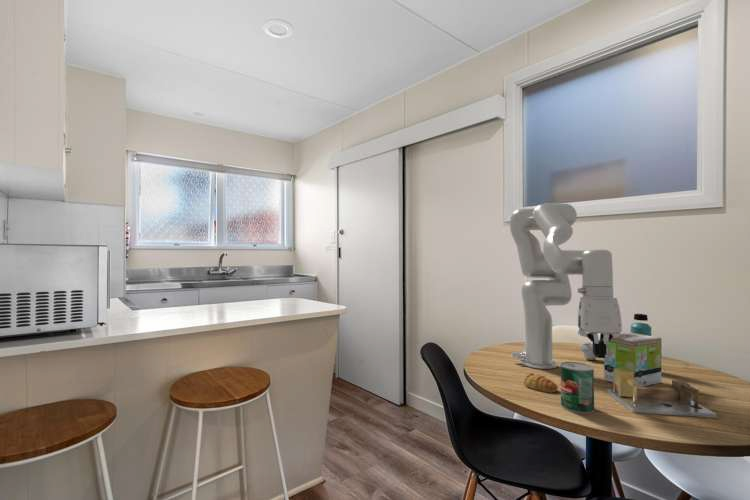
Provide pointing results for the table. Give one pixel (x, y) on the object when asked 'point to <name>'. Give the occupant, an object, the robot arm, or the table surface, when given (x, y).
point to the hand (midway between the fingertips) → (599, 357)
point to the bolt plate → (663, 406)
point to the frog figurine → (587, 350)
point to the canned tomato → (577, 387)
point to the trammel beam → (668, 392)
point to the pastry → (540, 383)
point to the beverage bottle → (641, 325)
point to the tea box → (634, 357)
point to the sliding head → (625, 383)
